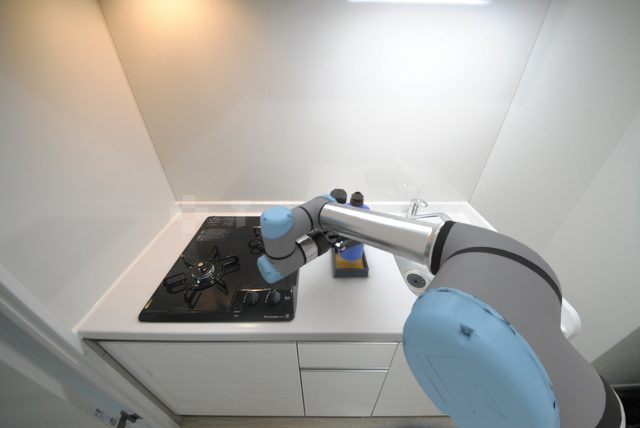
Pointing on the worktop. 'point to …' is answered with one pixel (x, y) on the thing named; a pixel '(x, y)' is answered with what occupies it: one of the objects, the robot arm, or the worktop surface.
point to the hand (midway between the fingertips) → (362, 218)
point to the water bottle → (357, 251)
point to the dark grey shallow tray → (349, 266)
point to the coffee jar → (339, 195)
